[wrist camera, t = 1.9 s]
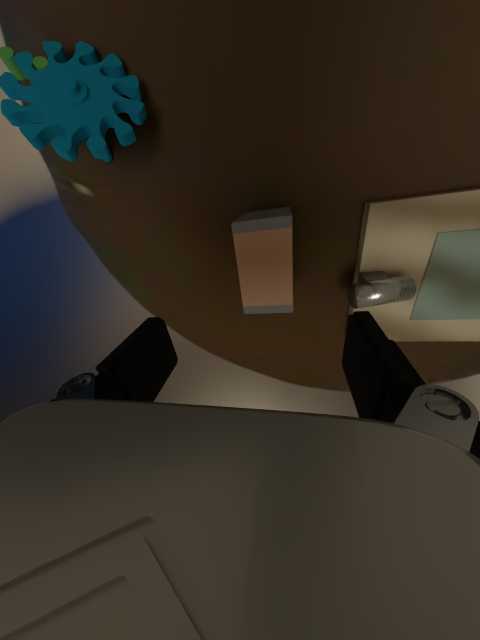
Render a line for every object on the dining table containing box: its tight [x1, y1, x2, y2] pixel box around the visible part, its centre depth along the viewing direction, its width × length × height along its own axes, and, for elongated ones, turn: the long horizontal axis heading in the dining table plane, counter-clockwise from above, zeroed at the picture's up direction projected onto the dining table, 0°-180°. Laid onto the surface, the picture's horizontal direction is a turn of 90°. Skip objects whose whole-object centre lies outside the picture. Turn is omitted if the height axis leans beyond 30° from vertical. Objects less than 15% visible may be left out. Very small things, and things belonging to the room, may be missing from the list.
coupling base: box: [346, 187, 480, 341], centre depth 20 cm, size 15×18×3 cm
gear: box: [0, 41, 147, 162], centre depth 18 cm, size 11×6×10 cm
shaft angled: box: [347, 275, 416, 309], centre depth 20 cm, size 2×5×4 cm, turn 98°
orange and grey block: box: [231, 206, 293, 314], centre depth 21 cm, size 8×4×7 cm, turn 8°
